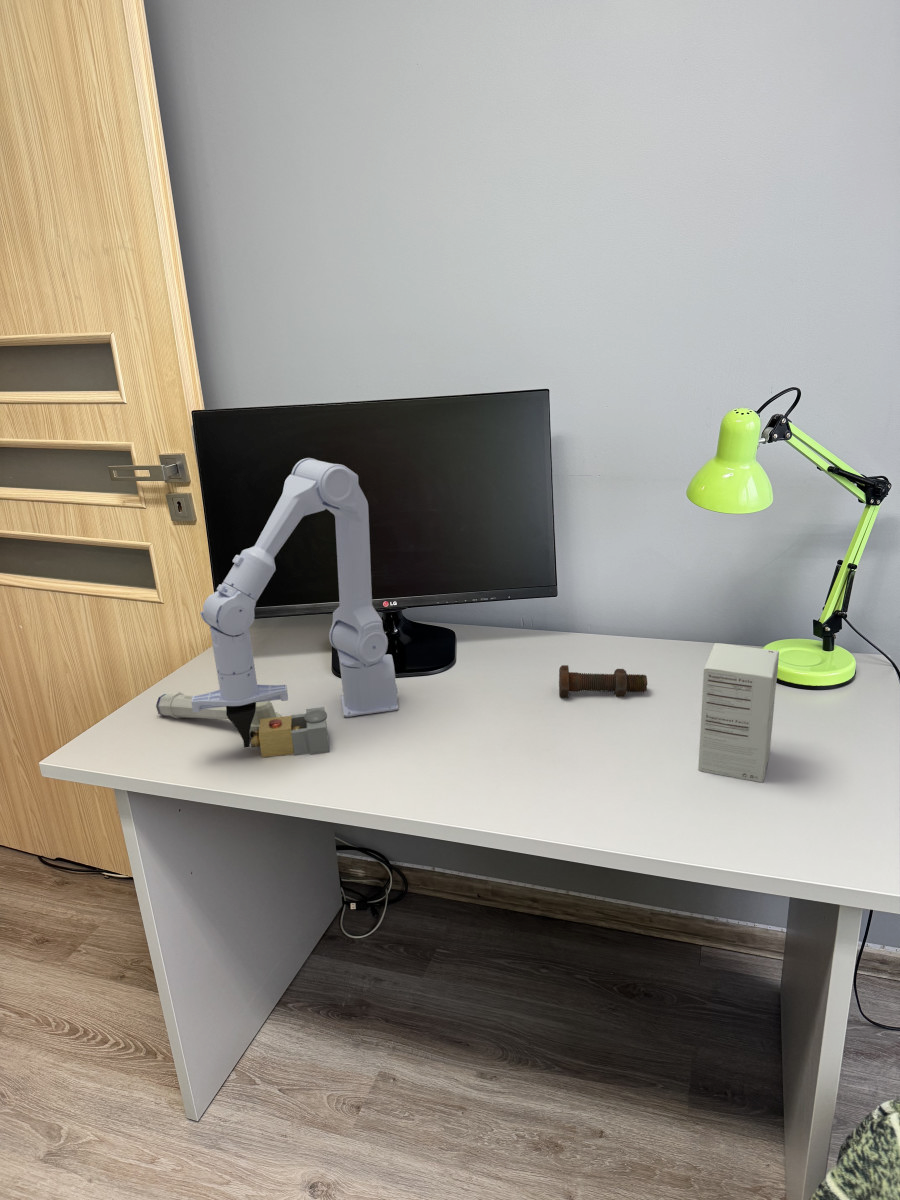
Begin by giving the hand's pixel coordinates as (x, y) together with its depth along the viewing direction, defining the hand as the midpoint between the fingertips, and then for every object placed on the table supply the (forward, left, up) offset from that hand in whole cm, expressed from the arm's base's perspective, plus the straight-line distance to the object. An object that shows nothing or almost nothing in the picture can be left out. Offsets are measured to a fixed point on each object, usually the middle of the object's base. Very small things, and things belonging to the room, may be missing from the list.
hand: (247, 744), depth 133 cm
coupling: (-10, 0, -2) cm, 10 cm away
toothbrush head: (+5, -11, -2) cm, 12 cm away
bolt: (-61, -3, -2) cm, 61 cm away
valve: (-5, 0, -1) cm, 5 cm away
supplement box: (-72, +23, -2) cm, 75 cm away
